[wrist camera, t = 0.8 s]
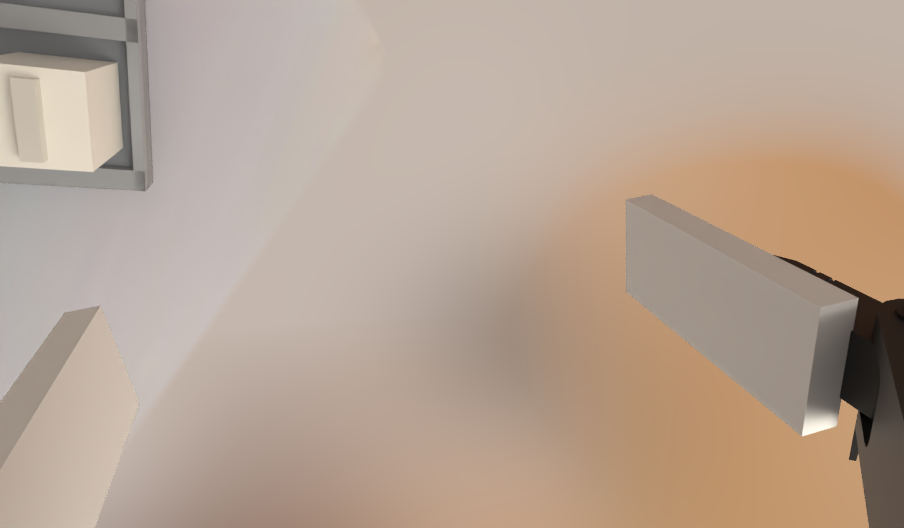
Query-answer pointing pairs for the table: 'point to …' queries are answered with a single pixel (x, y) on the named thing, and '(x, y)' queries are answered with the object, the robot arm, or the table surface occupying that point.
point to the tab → (58, 112)
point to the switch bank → (96, 38)
